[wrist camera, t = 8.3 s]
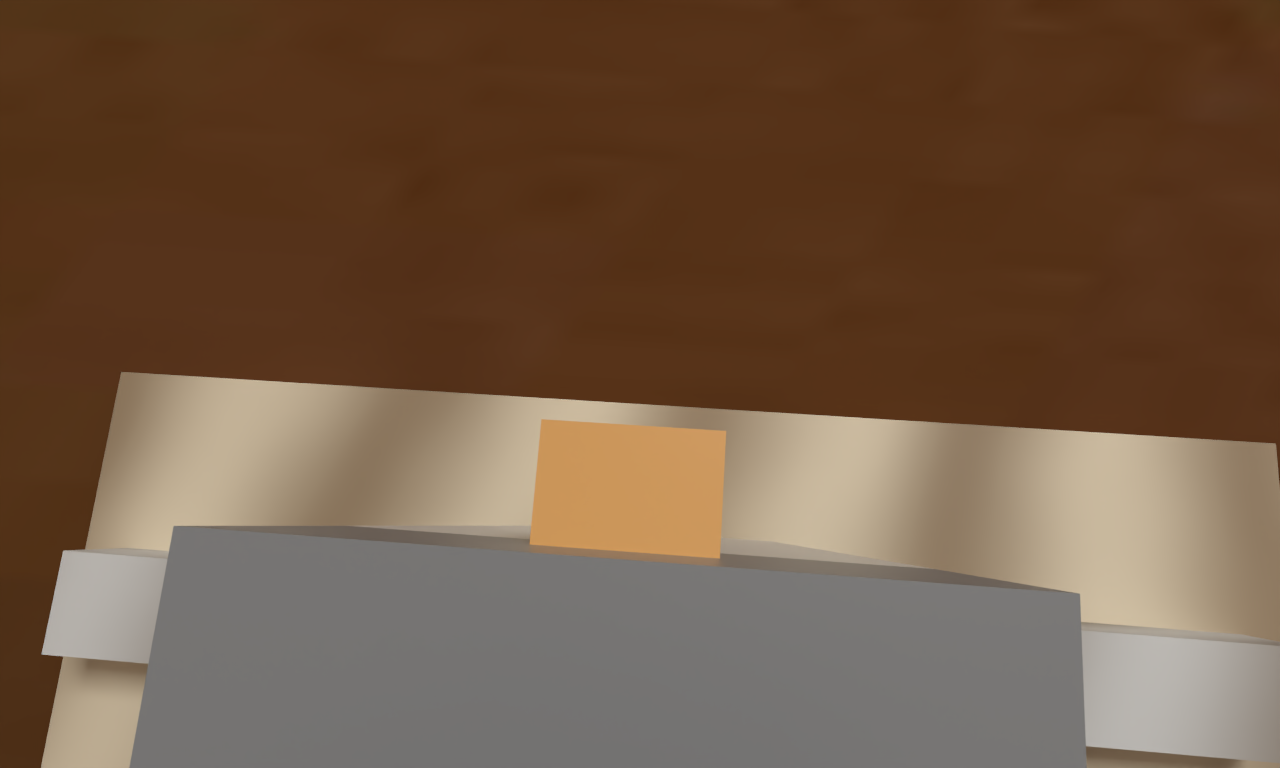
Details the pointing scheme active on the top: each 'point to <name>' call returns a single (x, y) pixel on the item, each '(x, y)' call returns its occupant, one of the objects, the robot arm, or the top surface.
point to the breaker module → (598, 639)
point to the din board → (752, 509)
